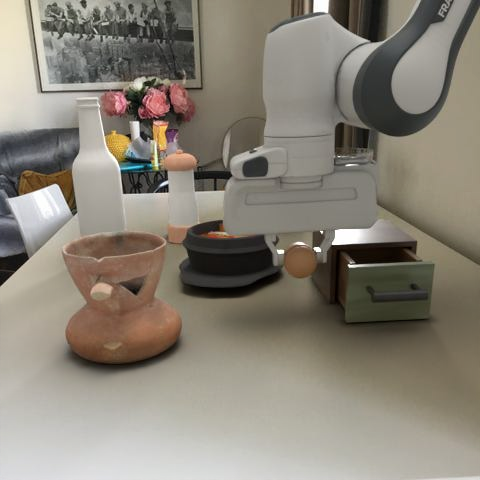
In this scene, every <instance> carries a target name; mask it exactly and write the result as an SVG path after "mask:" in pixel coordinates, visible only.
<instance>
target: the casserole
mask: <svg viewBox="0 0 480 480" xmlns="http://www.w3.org/2000/svg"><path fill="white" fill-rule="evenodd" d="M279 243H280V237H279V236H278V235H277V234H276V241H275V242H273V244H274V246H275V247H276V246H277V245H278V244H279ZM181 245H182V247H184V248H185V250H186V253H187V257H186V258H185V259H183V260H182V261H181V262H180V263H179V264H178V269H179V271H180V273H181V275H180V276H181V278H180V279H181V281H182V282H183V283H185V284H186V285H191V286H195V287H203V288H212V289H227V288H228V289H231V288H241V287H246V286H248V285H251V284H253V283H255V282H256V281H258V280H260V279H263V278H265V277H269V276H271V275H274V274H276V273H277V272H279V271H280V270H282V268H283V267H284V265H279V266H274V265H273V256H272V251H271V250H270V248H269V247H268V245H267V243H266V242H265V239H264V234H260V235H242V236H230V235H228V234H227V233H226V232H225V230H224V229H223V219H218V220H209V221H205V222H200V224H197V225H194V226H192V227H190V228H189V229H188V230H187V234H186V237H185V239H184V240H183V241H182V243H181Z"/></svg>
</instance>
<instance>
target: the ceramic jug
mask: <svg viewBox="0 0 480 480" xmlns="http://www.w3.org/2000/svg"><path fill="white" fill-rule="evenodd" d="M166 253H167V240H166V239H165V238H164V237H163V236H161V235H158V234H155V233H151V232H148V231H141V230H140V231H139V230H137V231H136V230H127V231H115V232H107V233H105V232H102V233H97V234H93V235H87V236H83V237H81V236H80V237H78V238H75V239H71V240H70V241H68V242H66V243H65V244H64V245H63V246H61V254H62V258H63V261H64V265H65V267H66V269H67V271H68V273H69V276H70V278H71V280H72V281H73V283H74V285H75V286H76V288H77V290H78V291H79V292H80V295H81V297H83V298H84V300H85V302H86V303H85V304H84V305H83V306H82V307H81V308H80V309H78V310H77V311H75V313H74V314H73V315H72V316H71V317H70V318H69V320H68V321H67V324H66V327H65V334H64V336H65V340H66V342H67V344H68V345H69V347H70V348H71V350H72V351H73V352H74V353H75V354H76V355H77V356H79V357H81V358H83V359H84V360H88V361H90V362H95V363H101V364H106V365H107V364H108V365H123V364H131V363H137V362H141V361H145V360H147V359H150V358H153V357H156V356H157V355H159V354H162V353H164V352H165V351H166V350H168V349H169V348H171V347H172V346H173V345H174V344H175V343H176V342H177V340H178V339H179V337H180V335H181V332H182V326H183V322H182V318H181V315H180V313H179V312H178V311H177V310H176V309H175V308H174V306H172V305H171V304H169V303H167V302H166V301H164V300H162V299H160V298H158V297H156V296H155V294H156V292H157V289H158V287H159V283H160V280H161V277H162V272H163V268H164V265H165V260H166Z"/></svg>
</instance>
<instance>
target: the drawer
mask: <svg viewBox="0 0 480 480" xmlns="http://www.w3.org/2000/svg"><path fill="white" fill-rule="evenodd" d="M435 266H436V263H435V262H434V261H432V260H425V261H423V259H422V258H420V257H419V256H418V255H417V254H416V255H415V254H414V253H413V252H411V251H410V250H409V249H408V248H406V247H387V248H366V249H344V250H337V253H336V280H335V295H336V296H337V298H338V299H339V301H340V302H341V303H340V305H341V306H342V307H343V309H344V321H345V322H346V323H366V322H384V321H386V322H387V321H404V320H405V321H406V320H422V319H424V320H425V319H430V315H431V314H430V313H431V306H432V305H431V304H432V303H431V302H432V296H433V295H432V294H433V285H434V277H435Z"/></svg>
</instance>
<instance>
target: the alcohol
mask: <svg viewBox="0 0 480 480" xmlns="http://www.w3.org/2000/svg"><path fill="white" fill-rule="evenodd" d="M75 101H76V104H77V105H76V109H77V113H78V114H77V117H78V133H79V135H78V136H79V151H78V154H76V157H75V158H74V160H73V163H72V167H71V176H72V184H73V190H74V197H75V204H76V212H77V213H76V214H77V220H78V227H79V234H80V237H83V236H87V235H93V234H97V233H102V232H105V233H107V232H115V231H128V230H127V229H128V228H127V220H126V219H127V217H126V210H125V201H124V191H123V182H122V174H121V173H122V172H121V167H120V165H119V161H118V159H117V158H116V157H115V156H114V155H113V154H112V153H111V152H110V150H109V148H108V146H107V142H106V137H105V131H104V127H103V121H102V117H101V111H100V107H101V105H100V103H99V101H100V98H99V97H98V96H86V97H85V96H84V97H76V99H75Z"/></svg>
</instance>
